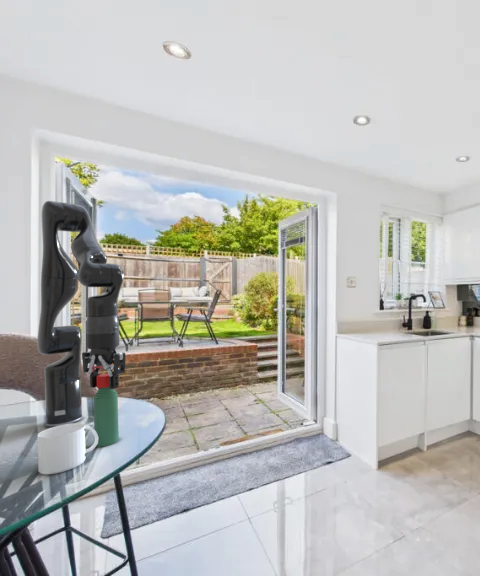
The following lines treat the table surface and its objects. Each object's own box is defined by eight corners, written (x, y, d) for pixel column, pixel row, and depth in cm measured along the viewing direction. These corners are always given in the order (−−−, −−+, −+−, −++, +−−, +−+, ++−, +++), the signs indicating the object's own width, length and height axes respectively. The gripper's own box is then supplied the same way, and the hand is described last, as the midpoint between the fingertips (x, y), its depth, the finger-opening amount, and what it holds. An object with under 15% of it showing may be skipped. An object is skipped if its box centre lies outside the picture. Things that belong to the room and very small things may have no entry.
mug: (39, 479, 85) (38, 440, 84) (37, 466, 91) (36, 430, 91) (102, 460, 93) (101, 425, 93) (96, 449, 100) (95, 417, 99)
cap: (116, 385, 105) (116, 374, 105) (100, 388, 101) (100, 377, 101) (109, 383, 107) (109, 372, 107) (94, 386, 103) (93, 375, 103)
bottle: (94, 442, 104) (92, 377, 104) (117, 436, 108) (115, 373, 108) (95, 448, 100) (93, 380, 100) (120, 442, 104) (118, 377, 104)
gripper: (70, 332, 101) (72, 390, 101) (108, 333, 97) (109, 393, 97) (98, 329, 108) (99, 382, 108) (134, 330, 104) (135, 385, 104)
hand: (104, 387), depth 103 cm, fingers open, 6 cm apart
